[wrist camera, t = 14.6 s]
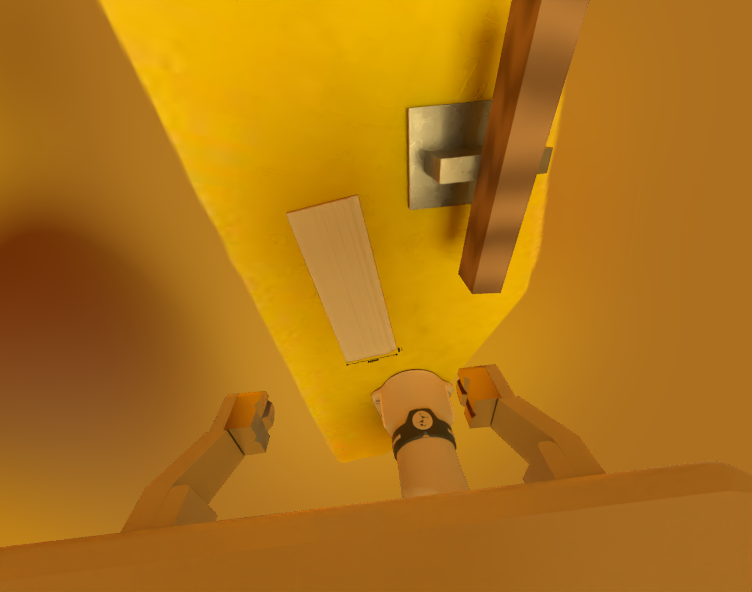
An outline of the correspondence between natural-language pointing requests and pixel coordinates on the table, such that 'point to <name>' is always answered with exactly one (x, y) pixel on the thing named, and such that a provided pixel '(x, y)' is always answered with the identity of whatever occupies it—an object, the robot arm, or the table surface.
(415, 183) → the ridge stand
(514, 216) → the walnut beam
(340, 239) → the baseboard molding
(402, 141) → the table surface
